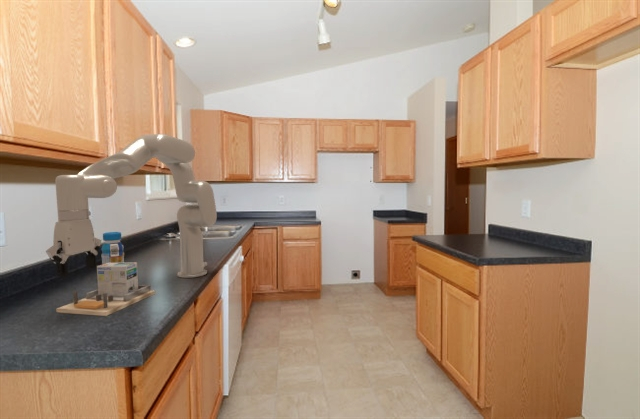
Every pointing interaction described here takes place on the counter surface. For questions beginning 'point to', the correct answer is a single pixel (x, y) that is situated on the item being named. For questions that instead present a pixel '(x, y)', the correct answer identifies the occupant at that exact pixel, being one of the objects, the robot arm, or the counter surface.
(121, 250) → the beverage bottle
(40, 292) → the counter surface
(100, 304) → the latch plate
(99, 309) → the rail mount
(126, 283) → the light bulb box
